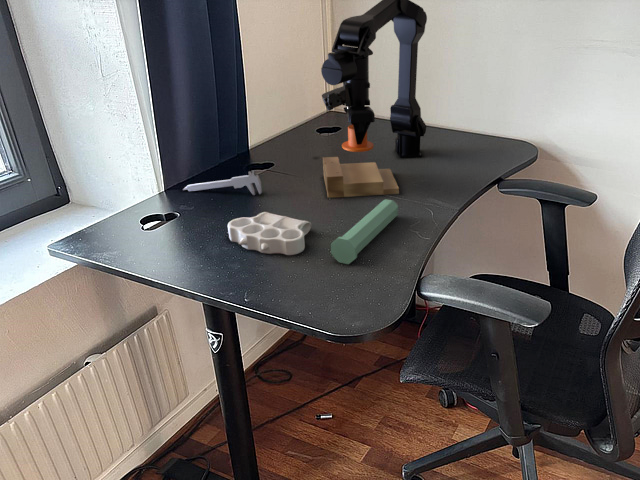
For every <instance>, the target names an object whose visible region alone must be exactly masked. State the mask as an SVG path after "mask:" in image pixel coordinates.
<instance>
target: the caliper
mask: <svg viewBox="0 0 640 480" xmlns="http://www.w3.org/2000/svg"><path fill="white" fill-rule="evenodd" d="M247 172H248V175H247V174H246V175H239V176H233V177H231V178H230V179H223V180H222V179H221V180H215V181H214V180H213V181H206V182H199V183H191V184H187V185H186V186H184V188H182V191H187V192H196V191H203V190H209V189H210V190H211V189H219V188H227V187H233V188H234V189H241V188H243V187H244V186H245V187H247V189H248V190H249V192H250V193H251V195H252V196H255V195H256V190H257V192H258V195H261V194H262V193H263V186H262V179H261V178H260V176H259V174H256V170H253V171H252V172H251V170H249V171H247ZM254 184H255V187H254ZM255 188H256V190H255Z"/></svg>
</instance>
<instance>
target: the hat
mask: <svg viewBox="0 0 640 480" xmlns="http://www.w3.org/2000/svg"><path fill="white" fill-rule="evenodd" d="M374 147H375V146H374V143H373V142H372V141H369V140H368V131H367V132H366V134H365V137H364V139H363V141H362V144H357V142H356V137H355V132H354V127H353V125H352V124H350V125H348V126H347V140H346V141H344V142H343V143H342V144H341V148H342V149H343V150H344V151H347V152H350V153H351V152H353V153H363V152H369V151H371V150H373V149H374Z"/></svg>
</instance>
